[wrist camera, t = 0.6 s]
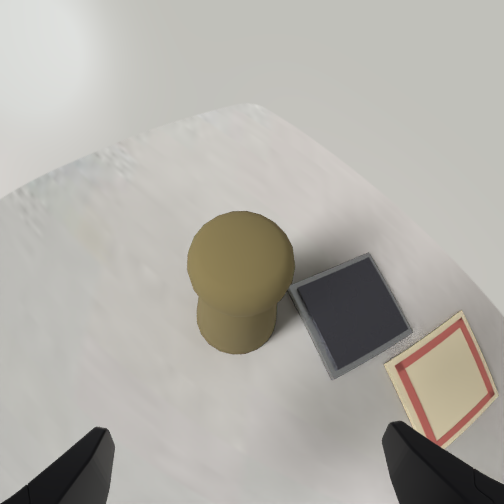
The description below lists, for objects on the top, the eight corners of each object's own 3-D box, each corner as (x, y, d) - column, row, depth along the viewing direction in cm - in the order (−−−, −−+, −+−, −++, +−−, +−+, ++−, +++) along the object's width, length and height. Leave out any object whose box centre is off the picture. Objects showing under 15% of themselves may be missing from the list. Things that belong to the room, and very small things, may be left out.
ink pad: (409, 334, 24) (415, 331, 23) (331, 379, 22) (335, 378, 21) (366, 255, 27) (370, 250, 26) (287, 288, 25) (289, 284, 24)
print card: (495, 396, 21) (499, 395, 20) (426, 460, 18) (430, 461, 18) (458, 311, 25) (462, 309, 24) (383, 364, 22) (386, 363, 22)
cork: (292, 312, 24) (335, 243, 14) (239, 371, 22) (249, 344, 12) (233, 264, 25) (238, 172, 16) (180, 316, 23) (146, 249, 13)
